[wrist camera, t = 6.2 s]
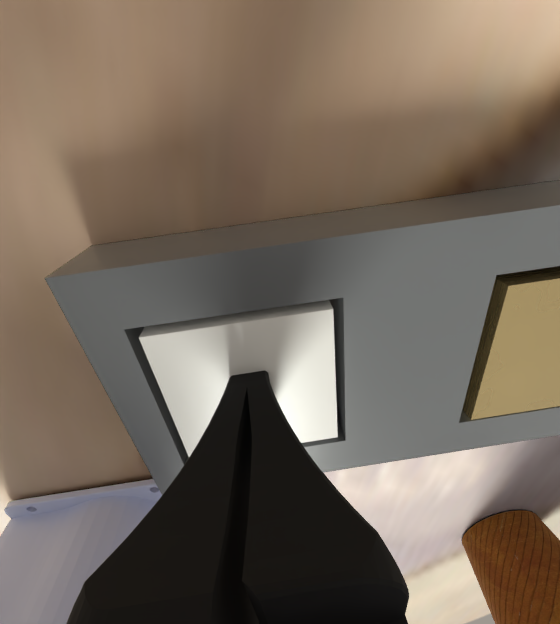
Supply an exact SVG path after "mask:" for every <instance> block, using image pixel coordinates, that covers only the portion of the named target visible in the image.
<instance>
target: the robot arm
mask: <svg viewBox="0 0 560 624" xmlns="http://www.w3.org/2000/svg"><path fill="white" fill-rule="evenodd" d="M4 511H5V513H6V514H7V515H8V516H9V517H10V518H11V520H10V522H9V523H8V525H7V526H6V528H5V530H4V531H3V533H2V534H1V536H0V624H408V622H407V619H406V616H405V612H406V608H407V603H408V599H409V592H408V588H407V585H406V583H405V580H404V578H403V576H402V574H401V572H400V569H399V568H398V566H397V564H396V562H395V560H394V558H393V557H392V555H391V553H390V552H389V550H388V548H387V547H386V545H385V543H384V542H383V540H382V539H381V537H380V535H379V534H378V532H377V531H376V530H375V529H374V528H373V527H372V526H371V525H370V524H369V523H368V522H367V521H366V520H365V519H364V518H363V517H362V516H361V515H360V514H359V513H358V512H357V511H356V510H355V509H354V508H353V507H352V506H351V505H350V503H349V502H348V501H347V500H346V499H345V498H344V497H343V496H342V495H341V493H340V492H339V491H338V490H337V489H336V488H335V487H334V485H333V484H332V483H331V482H330V480H329V479H328V478H327V477H326V476H325V474H324V473H323V472H322V471H321V470H320V468H319V467H318V466H317V464H316V463H315V462H314V460H313V459H312V458H311V456H310V455H309V454H308V452H307V451H306V449H305V448H304V446H303V445H302V444H301V442H300V441H299V439H298V437H297V436H296V434H295V433H294V431H293V429H292V428H291V426H290V424H289V423H288V421H287V419H286V417H285V415H284V413H283V411H282V409H281V407H280V405H279V403H278V401H277V399H276V397H275V394H274V392H273V389H272V387H271V384H270V380H269V374H268V372H267V371H265V370H264V371H258V372H251V373H245V374H238V375H232V376H231V377H230V378H229V380H228V383H227V386H226V388H225V391H224V393H223V396H222V398H221V400H220V402H219V405H218V407H217V409H216V411H215V413H214V415H213V417H212V419H211V421H210V423H209V425H208V426H207V428H206V430H205V432H204V433H203V435H202V437H201V439H200V441H199V442H198V444H197V446H196V447H195V449H194V451H193V452H192V454H191V455H190V457H189V459H188V460H187V462H186V463H185V465H184V466H183V467H182V469H181V470H180V472H179V473H178V475H177V476H176V477H175V479H174V480H173V482H172V483H171V484H170V486H169V487H168V488H167V490H166V491H165V492H164V494H163V495H162V494H161V492H160V490H159V489H158V487H157V485H156V483H155V481H154V479H149V480H142V481H136V482H129V483H123V484H117V485H110V486H104V487H97V488H91V489H85V490H78V491H72V492H65V493H59V494H53V495H46V496H40V497H33V498H27V499H21V500H14V501H11V502H9V503H8V504H7V506H6V508H5V510H4Z"/></svg>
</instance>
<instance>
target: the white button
mask: <svg viewBox="0 0 560 624" xmlns="http://www.w3.org/2000/svg"><path fill="white" fill-rule="evenodd" d="M139 340H140V342H141V344H142V347H143V349H144V352H145V354H146V356H147V359H148V361H149V363H150V366H151V368H152V371H153V373H154V375H155V378H156V380H157V383H158V385H159V387H160V390H161V392H162V394H163V397H164V399H165V402H166V404H167V406H168V409H169V411H170V414H171V416H172V418H173V421H174V423H175V425H176V428H177V430H178V433H179V435H180V437H181V440H182V442H183V444H184V447H185V449H186V452H187V454H188V456H189V457H190V455H191V454H192V452H193V451H194V449H195V447H196V446H197V444H198V442H199V441H200V439H201V437H202V435H203V433H204V432H205V430H206V428H207V426H208V425H209V423H210V421H211V419H212V417H213V415H214V413H215V411H216V409H217V407H218V405H219V402H220V400H221V398H222V396H223V393H224V391H225V388H226V386H227V383H228V380H229V378H230V377H231V376H232V375H238V374H245V373H251V372H258V371H264V370H265V371H267V372H268V374H269V380H270V384H271V387H272V389H273V392H274V394H275V397H276V399H277V401H278V403H279V405H280V407H281V409H282V411H283V413H284V415H285V417H286V419H287V421H288V423H289V424H290V426H291V428H292V429H293V431H294V433H295V434H296V436H297V437H298V439H299V441H300V442H301V443H304V442H311V441H317V440H323V439H330V438H336V437H338V432H337V403H336V373H335V344H334V315H333V308H332V306H331V303H330V301H329V300H323V301H316V302H309V303H303V304H296V305H289V306H282V307H275V308H268V309H262V310H255V311H248V312H241V313H234V314H227V315H220V316H214V317H207V318H200V319H193V320H186V321H179V322H173V323H166V324H159V325H152V326H145V327H144V329H143V331H142V333H141V334H140V336H139Z"/></svg>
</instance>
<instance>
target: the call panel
mask: <svg viewBox="0 0 560 624" xmlns="http://www.w3.org/2000/svg"><path fill="white" fill-rule="evenodd" d="M556 266H560V180H557V181H550V182H543V183H536V184H528V185H521V186H514V187H507V188H500V189H493V190H486V191H478V192H471V193H464V194H457V195H450V196H443V197H436V198H429V199H421V200H414V201H407V202H400V203H393V204H386V205H379V206H371V207H364V208H357V209H350V210H343V211H336V212H329V213H321V214H314V215H307V216H300V217H293V218H286V219H279V220H272V221H264V222H257V223H250V224H243V225H236V226H229V227H222V228H214V229H207V230H200V231H193V232H186V233H179V234H172V235H165V236H157V237H150V238H143V239H136V240H129V241H122V242H115V243H107V244H100V245H93V246H90V247H89V248H88V249H86V250H85V251H83V252H82V253H80V254H79V255H77V256H76V257H74V258H73V259H72V260H70V261H69V262H67V263H66V264H64V265H63V266H61V267H60V268H59V269H57V270H56V271H54V272H53V273H51V274H50V275H48V276H47V277H46V278H45V280H46V282H47V284H48V285H49V287H50V289H51V291H52V293H53V295H54V297H55V298H56V300H57V302H58V304H59V306H60V308H61V309H62V311H63V313H64V315H65V317H66V319H67V321H68V322H69V324H70V326H71V328H72V330H73V332H74V333H75V335H76V337H77V339H78V341H79V343H80V345H81V346H82V348H83V350H84V352H85V354H86V356H87V357H88V359H89V361H90V363H91V365H92V367H93V369H94V370H95V372H96V374H97V376H98V378H99V380H100V381H101V383H102V385H103V387H104V389H105V391H106V393H107V394H108V396H109V398H110V400H111V402H112V404H113V405H114V407H115V409H116V411H117V413H118V415H119V417H120V418H121V420H122V422H123V424H124V426H125V428H126V429H127V431H128V433H129V435H130V437H131V439H132V441H133V442H134V444H135V446H136V448H137V450H138V452H139V453H140V455H141V457H142V459H143V461H144V463H145V465H146V466H147V468H148V470H149V472H150V474H151V476H152V477H153V479H154V481H155V483H156V485H157V487H158V489H159V490H160V492H161V494H162V495H163V494H164V492H165V491H166V490H167V488H168V487H169V486H170V484H171V483H172V482H173V480H174V479H175V477H176V476H177V475H178V473H179V472H180V470H181V469H182V467H183V466H184V465H185V463H186V462H187V460H188V459H189V456H188V454H187V452H186V449H185V447H184V444H183V442H182V440H181V437H180V435H179V433H178V430H177V428H176V425H175V423H174V421H173V418H172V416H171V414H170V411H169V409H168V406H167V404H166V402H165V399H164V397H163V394H162V392H161V390H160V387H159V385H158V383H157V380H156V378H155V375H154V373H153V371H152V368H151V366H150V363H149V361H148V359H147V356H146V354H145V352H144V349H143V347H142V344H141V342H140V340H139V336H140V334H141V333H142V331H143V329H144V327H145V326H152V325H159V324H166V323H173V322H179V321H186V320H193V319H200V318H207V317H214V316H220V315H227V314H234V313H241V312H248V311H255V310H262V309H268V308H275V307H282V306H289V305H296V304H303V303H309V302H316V301H323V300H329V301H330V303H331V306H332V308H333V315H334V344H335V373H336V403H337V432H338V437H336V438H330V439H323V440H317V441H311V442H304V443H301V444H302V445H303V446H304V448H305V449H306V451H307V452H308V454H309V455H310V456H311V458H312V459H313V460H314V462H315V463H316V464H317V466H318V467H319V468H320V470H321V471H322V472H329V471H335V470H342V469H348V468H354V467H361V466H367V465H373V464H380V463H386V462H392V461H399V460H405V459H411V458H418V457H424V456H430V455H437V454H443V453H449V452H456V451H462V450H468V449H475V448H481V447H487V446H494V445H500V444H506V443H513V442H519V441H526V440H532V439H538V438H545V437H551V436H557V435H560V406H556V407H550V408H544V409H537V410H531V411H524V412H518V413H511V414H505V415H499V416H492V417H486V418H479V419H473V420H471V419H470V418H469V417H468V415H467V414H466V413H465V412H464V410H463V405H464V401H465V397H466V393H467V389H468V385H469V381H470V377H471V373H472V369H473V365H474V361H475V357H476V354H477V350H478V346H479V342H480V338H481V334H482V330H483V326H484V322H485V318H486V314H487V310H488V306H489V302H490V298H491V295H492V291H493V287H494V283H495V279H496V275H501V274H508V273H515V272H522V271H529V270H535V269H542V268H549V267H556Z"/></svg>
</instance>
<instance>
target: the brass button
mask: <svg viewBox="0 0 560 624" xmlns="http://www.w3.org/2000/svg"><path fill="white" fill-rule="evenodd" d="M556 406H560V266H556V267H549V268H542V269H535V270H529V271H522V272H515V273H508V274H501V275H496V279H495V283H494V287H493V291H492V295H491V298H490V302H489V306H488V310H487V314H486V318H485V322H484V326H483V330H482V334H481V338H480V342H479V346H478V350H477V354H476V357H475V361H474V365H473V369H472V373H471V377H470V381H469V385H468V389H467V393H466V397H465V401H464V405H463V410H464V412H465V413H466V414H467V415H468V417H469V418H470V419H471V420H473V419H479V418H486V417H492V416H499V415H505V414H511V413H518V412H524V411H531V410H537V409H544V408H550V407H556Z"/></svg>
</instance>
